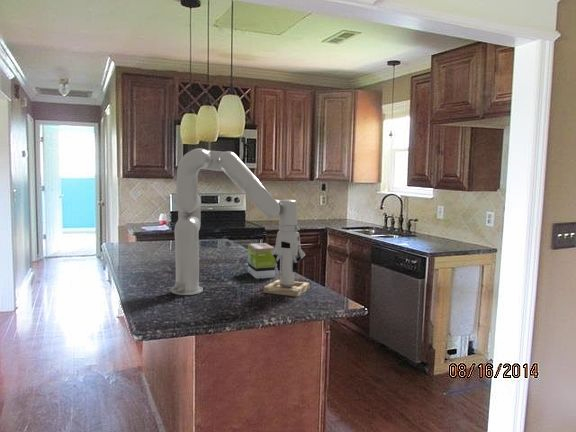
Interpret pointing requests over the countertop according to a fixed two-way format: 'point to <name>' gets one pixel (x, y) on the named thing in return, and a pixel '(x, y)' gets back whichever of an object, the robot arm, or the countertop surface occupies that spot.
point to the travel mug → (286, 266)
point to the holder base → (287, 288)
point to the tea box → (261, 261)
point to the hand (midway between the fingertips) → (287, 270)
